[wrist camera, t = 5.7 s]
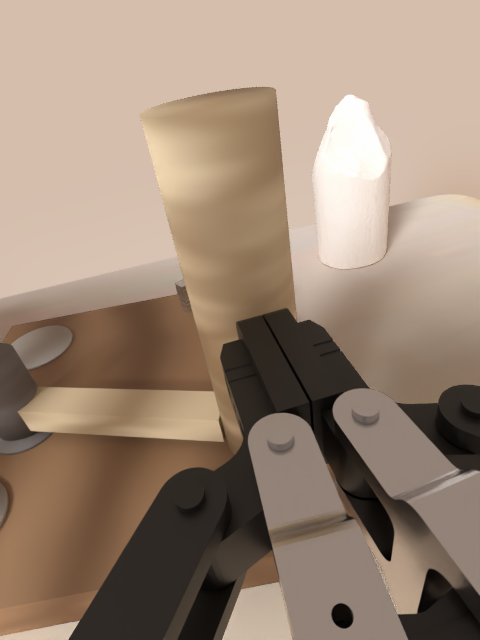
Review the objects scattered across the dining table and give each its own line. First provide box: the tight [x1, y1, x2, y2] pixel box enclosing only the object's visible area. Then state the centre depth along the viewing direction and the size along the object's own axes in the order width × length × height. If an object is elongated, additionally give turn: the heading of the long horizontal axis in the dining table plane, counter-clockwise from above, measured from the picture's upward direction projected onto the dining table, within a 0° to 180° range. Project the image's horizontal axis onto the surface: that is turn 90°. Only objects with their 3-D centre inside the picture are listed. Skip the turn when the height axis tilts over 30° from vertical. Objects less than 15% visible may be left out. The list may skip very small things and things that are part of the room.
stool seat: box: [0, 294, 350, 636], centre depth 22 cm, size 19×19×2 cm
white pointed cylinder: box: [312, 95, 391, 269], centre depth 31 cm, size 6×12×6 cm
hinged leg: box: [0, 87, 297, 455], centre depth 16 cm, size 16×4×13 cm, turn 80°
